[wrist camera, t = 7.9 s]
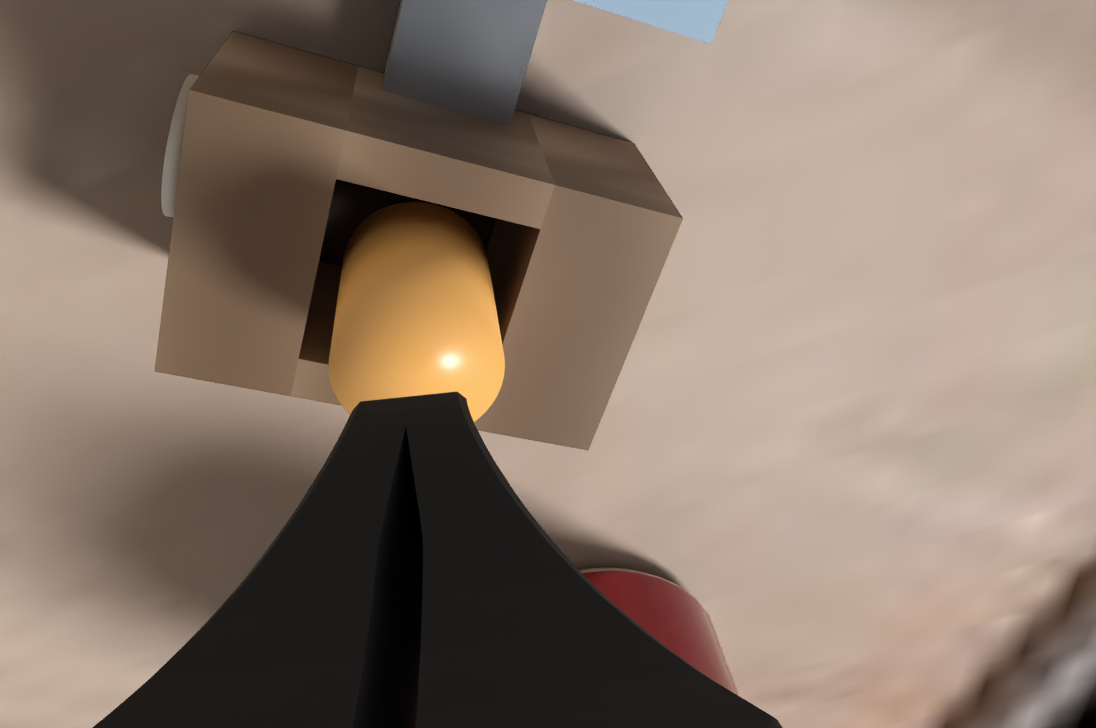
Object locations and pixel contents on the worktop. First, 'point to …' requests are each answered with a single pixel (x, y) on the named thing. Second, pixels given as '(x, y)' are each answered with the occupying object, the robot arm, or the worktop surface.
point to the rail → (463, 53)
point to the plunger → (416, 311)
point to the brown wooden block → (414, 171)
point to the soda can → (667, 617)
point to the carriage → (670, 14)
